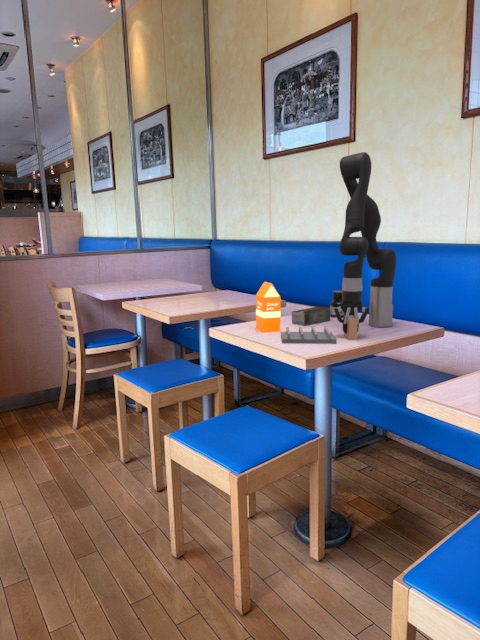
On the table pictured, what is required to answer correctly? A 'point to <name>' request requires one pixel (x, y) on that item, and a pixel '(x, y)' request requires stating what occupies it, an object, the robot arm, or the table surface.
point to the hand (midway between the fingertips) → (350, 332)
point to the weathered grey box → (311, 316)
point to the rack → (308, 336)
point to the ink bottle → (336, 303)
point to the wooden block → (351, 328)
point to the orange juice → (268, 309)
